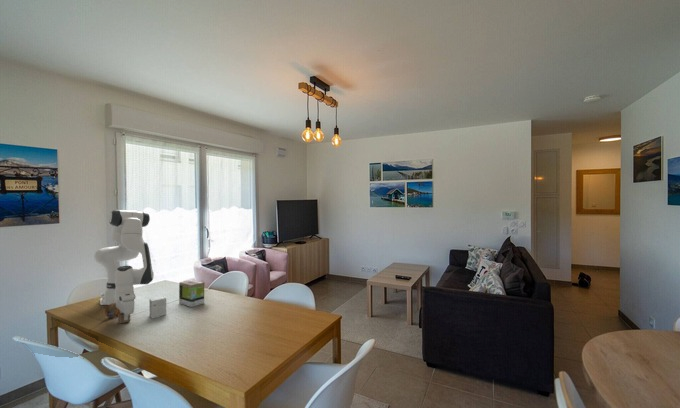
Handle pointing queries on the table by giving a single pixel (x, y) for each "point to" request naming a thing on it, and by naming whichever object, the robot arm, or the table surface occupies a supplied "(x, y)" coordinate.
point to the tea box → (191, 293)
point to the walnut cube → (122, 318)
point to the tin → (112, 310)
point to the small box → (157, 307)
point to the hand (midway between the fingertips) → (124, 318)
